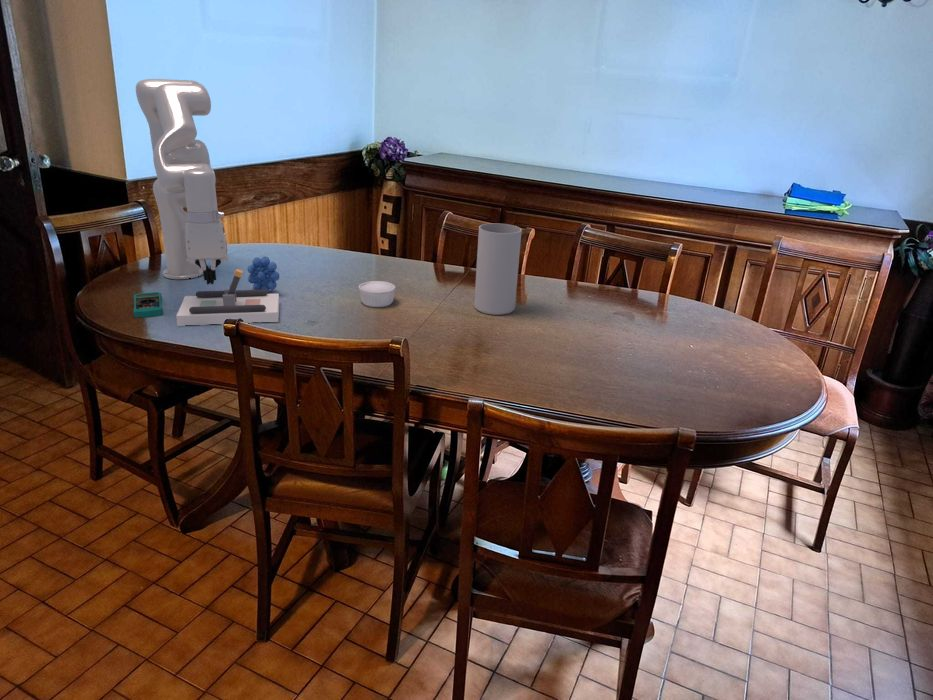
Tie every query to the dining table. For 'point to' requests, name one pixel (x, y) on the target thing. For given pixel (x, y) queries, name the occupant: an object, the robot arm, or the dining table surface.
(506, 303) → the cylinder vase
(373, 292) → the ramekin
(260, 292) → the pair of dark bars
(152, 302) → the digital multimeter
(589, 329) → the dining table surface
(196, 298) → the switch base plate
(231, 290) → the breaker lever
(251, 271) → the grapes
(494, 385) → the dining table surface
